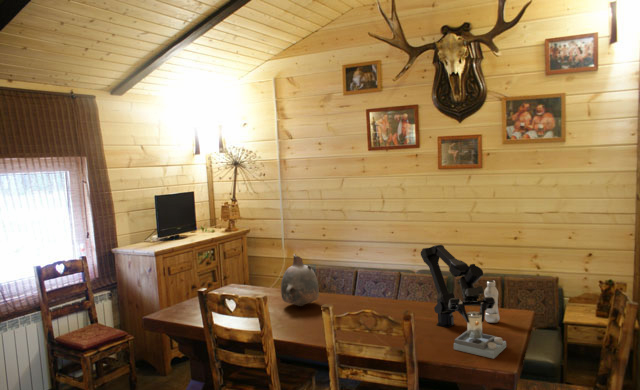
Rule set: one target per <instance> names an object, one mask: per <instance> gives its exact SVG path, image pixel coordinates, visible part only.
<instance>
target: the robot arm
mask: <svg viewBox="0 0 640 390" xmlns="http://www.w3.org/2000/svg"><path fill="white" fill-rule="evenodd" d="M420 257H421V259H422V261H423V263H424V264H425V265H427V266H428V268H429V272H430V274H431V277H432V279H433V280H432V281H433V282H434V283H433V284H434V285H435V289H436V292H437V297H436V303H437V304H436V305H435V306H434V307H433V308H434V313H436V314H437V323H436V326H439V327H443V328H450V327H452V326H453V325H455V322H454V321H455V319H454V313H456V312H458V314H460V315H461V316H462V318H463V319H464V320H465V322H466V324H467V323H468V317H467V310H466V307H465V306H467V307H468V306H480V308H479V312H480V313H482V323H484V321H485V312H486V310H487V309H491V308H493V306H494V304H495V300H494V298H493V297H485V296H484V297H483V299H482V300H480V297H479V296H481V295H483V294H484V288H483V286H482V285H478V286H477V287H475V284H476V283H477V282H478V281H479V280H480V279H481V277H484V276H483V275H484V271H483V269H482V268H480V267H479V266H477V265H476V264H475V263H472V264H468V263H466V262H465V261H463V260H461V259H457V258H456V257H455V256H454V255H453V254H452V253H450V252H449V251H448V250H447V249H446V248H445V245H443V244H436V245H432V246H430V247H424V248H422V249H421V251H420ZM440 260H441V261H442V262H444V264H445V265H446V266H448V269H449V272H450V274H451V275H452V276H453V277H454V278H457V277H460V278H459V280H458V281H457V285H459V287H460V290H461V296H462V300H460V298H459V297H458V298H457V297H455V294H454V293H453V292H450V291H449V289H448V287H447V284H446V280H445V278H444V275H443V273H442V270H441V267H440V264H439V261H440Z"/></svg>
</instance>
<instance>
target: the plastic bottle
mask: <svg viewBox="0 0 640 390" xmlns="http://www.w3.org/2000/svg"><path fill="white" fill-rule="evenodd" d="M483 292H484V293H483V294H484V297H493V298H494V300H495V304H494V306H493V308H491V309H487V310H485V314H484V321H486V322H487V323H490V324H495V323H498V322H499V321H500V313H499V307H498V304H499V303H498V302H499V301H498V300H499V290H498V289H497V287H496V281H495V280H487V281H486V287H485V289H483Z"/></svg>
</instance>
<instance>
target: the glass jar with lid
mask: <svg viewBox="0 0 640 390" xmlns="http://www.w3.org/2000/svg"><path fill="white" fill-rule="evenodd" d="M466 314H467V317H468V323H467V322H466V326H467V327H466V328H467V329H466V331H467V335H468V337H470V338H473V339H479V338H482V334H483V322H482V313H480V311H467V312H466Z"/></svg>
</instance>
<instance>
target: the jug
mask: <svg viewBox="0 0 640 390" xmlns="http://www.w3.org/2000/svg"><path fill="white" fill-rule="evenodd" d="M292 260H293V262H292V265H291V266H288V268H287V269H286V270H285V272H284V273H283V276H282V278H281V282H280V283H281V284H280V294H281V299H282V301H283V302H284V303H287V304H291V305H295V306H298V307H299V306H300V307H303V306H305V305H306V304H310V303H312V302H314V301H316V300H318V299H319V294H320V292H319V291H320V290H319V289H320V288H319V287H320V286H319V282H318V278H317V275H316V273H315V270H314V269H312V266H311V264H308V265H306V264H304V262H303V258H302V257H301V256H298V255H297V254H296V253H293V259H292Z"/></svg>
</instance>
